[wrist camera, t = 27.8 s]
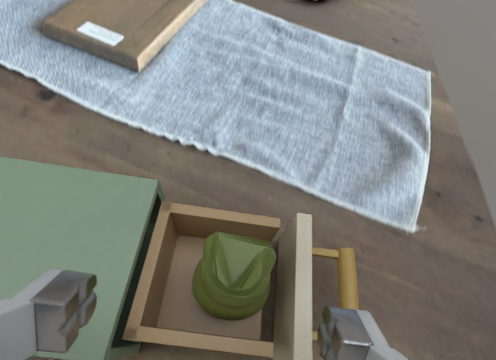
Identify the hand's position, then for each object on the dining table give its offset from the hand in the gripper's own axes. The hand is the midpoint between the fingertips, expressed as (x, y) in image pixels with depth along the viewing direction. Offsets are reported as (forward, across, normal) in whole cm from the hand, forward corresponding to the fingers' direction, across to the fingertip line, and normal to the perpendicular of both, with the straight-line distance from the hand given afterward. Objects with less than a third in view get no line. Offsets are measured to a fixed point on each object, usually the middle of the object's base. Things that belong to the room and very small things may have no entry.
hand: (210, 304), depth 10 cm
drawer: (+13, -3, +9) cm, 16 cm away
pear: (+12, -1, +8) cm, 15 cm away
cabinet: (+13, +12, +9) cm, 20 cm away
